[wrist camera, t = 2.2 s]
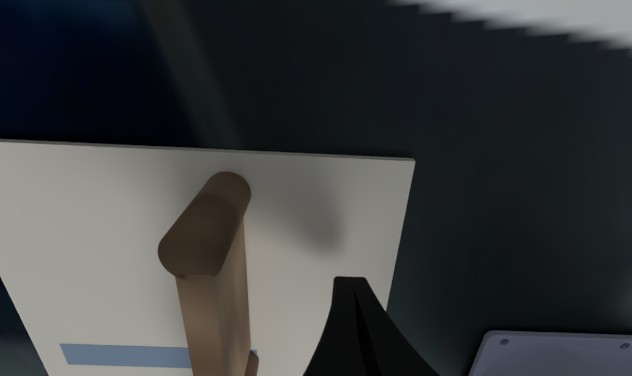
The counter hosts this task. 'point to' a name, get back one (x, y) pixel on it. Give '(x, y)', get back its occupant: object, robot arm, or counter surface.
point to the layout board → (154, 222)
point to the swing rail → (212, 275)
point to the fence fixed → (252, 364)
